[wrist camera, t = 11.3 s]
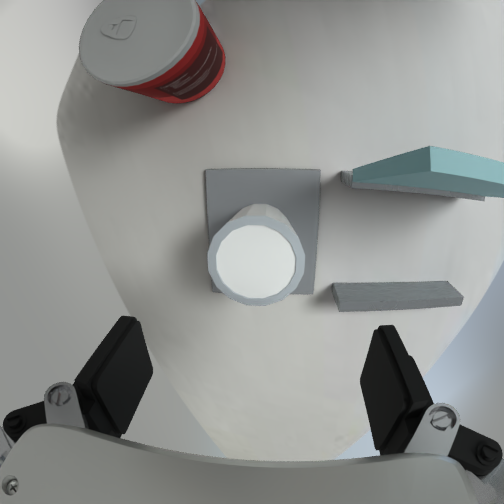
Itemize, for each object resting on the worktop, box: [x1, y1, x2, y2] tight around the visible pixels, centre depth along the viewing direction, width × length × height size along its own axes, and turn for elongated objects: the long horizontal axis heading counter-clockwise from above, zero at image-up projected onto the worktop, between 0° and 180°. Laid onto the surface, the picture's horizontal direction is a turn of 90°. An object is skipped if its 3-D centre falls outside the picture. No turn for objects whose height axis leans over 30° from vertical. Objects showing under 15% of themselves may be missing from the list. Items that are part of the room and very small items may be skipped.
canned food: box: [79, 0, 225, 103], centre depth 17 cm, size 8×8×11 cm
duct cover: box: [353, 146, 504, 198], centre depth 15 cm, size 12×14×1 cm
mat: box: [206, 168, 320, 294], centre depth 27 cm, size 12×10×1 cm
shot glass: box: [207, 204, 305, 306], centre depth 24 cm, size 7×7×7 cm
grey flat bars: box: [332, 171, 485, 312], centre depth 25 cm, size 12×14×4 cm
